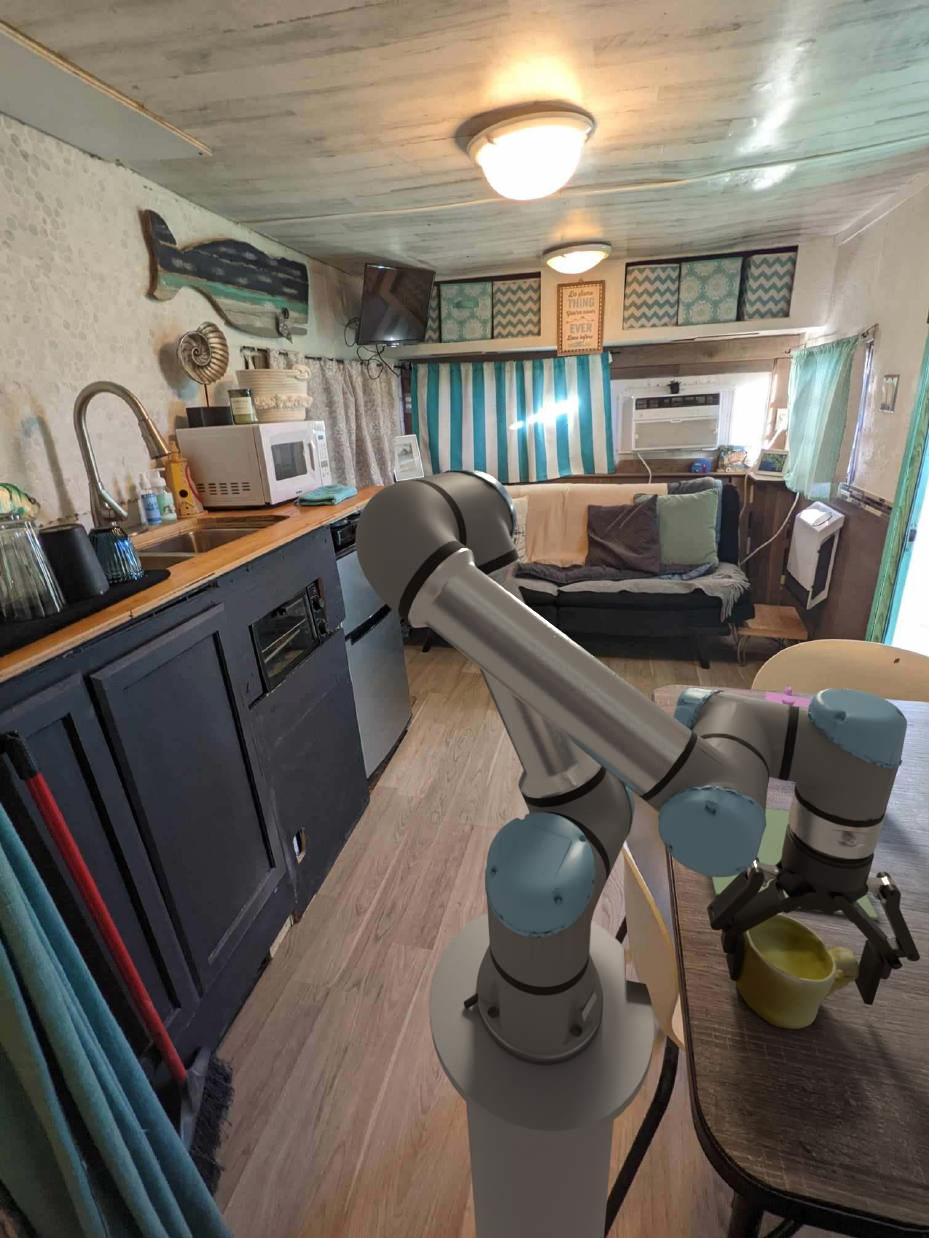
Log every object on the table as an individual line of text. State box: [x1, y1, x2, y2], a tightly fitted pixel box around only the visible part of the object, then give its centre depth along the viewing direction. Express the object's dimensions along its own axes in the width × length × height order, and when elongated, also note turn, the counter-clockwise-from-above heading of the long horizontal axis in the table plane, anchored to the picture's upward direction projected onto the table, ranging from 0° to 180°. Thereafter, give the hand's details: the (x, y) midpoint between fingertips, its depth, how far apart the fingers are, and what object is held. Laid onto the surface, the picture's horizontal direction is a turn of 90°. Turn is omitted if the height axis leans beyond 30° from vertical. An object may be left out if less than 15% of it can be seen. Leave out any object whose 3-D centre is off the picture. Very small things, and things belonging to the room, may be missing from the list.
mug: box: [735, 912, 859, 1030], centre depth 62 cm, size 12×10×10 cm
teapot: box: [764, 684, 812, 707], centre depth 108 cm, size 18×13×10 cm
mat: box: [711, 807, 879, 921], centre depth 84 cm, size 20×20×1 cm
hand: (795, 980), depth 63 cm, fingers open, 13 cm apart
